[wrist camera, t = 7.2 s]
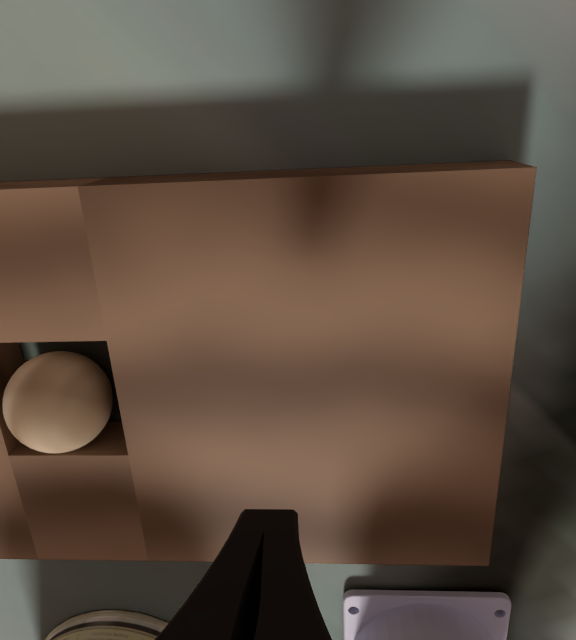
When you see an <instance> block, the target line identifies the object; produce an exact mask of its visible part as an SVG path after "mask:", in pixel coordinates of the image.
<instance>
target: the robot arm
mask: <svg viewBox="0 0 576 640" xmlns="http://www.w3.org/2000/svg"><path fill="white" fill-rule="evenodd" d="M353 607H354V608H353ZM497 610H498V611H497ZM510 612H511V601H510V599H509V597H508V595H507V594H505V593H502V592H465V591H410V590H355V589H353V590H348V591H346V592H345V593H344V595H343V633H344V640H506V639H507V632H508V625H509V619H510ZM155 640H332V639H331V637H330V634H329V632H328V630H327V627H326V625H325V623H324V620H323V618H322V615H321V612H320V610H319V607H318V604H317V602H316V599H315V596H314V593H313V590H312V587H311V584H310V581H309V578H308V574H307V571H306V567H305V564H304V560H303V556H302V551H301V546H300V541H299V526H298V513H297V512H296V511H295V510H293V509H245V510H244V511H242V512H241V514H240V516H239V518H238V520H237V522H236V524H235V526H234V528H233V530H232V532H231V533H230V535H229V537H228V539H227V540H226V542H225V544H224V546H223V547H222V549H221V551H220V552H219V554H218V555H217V557H216V558H215V560H214V562H213V563H212V565H211V566H210V568H209V569H208V571H207V572H206V574H205V575H204V577H203V578H202V580H201V581H200V583H199V584H198V585H197V587H196V588H195V589H194V591H193V592H192V594H191V595H190V596H189V598H188V599H187V601H186V602H185V603H184V605H183V606H182V607H181V608H180V610H179V611H178V612H177V613H176V615H175V616H174V617H173V618H172V620H171V621H170V622H169V623H168V624H167V626H166V627H165V628H164V629H163V630H162V631H161V633H160V634H159V635H158V636H157V637H156V638H155Z"/></svg>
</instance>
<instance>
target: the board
mask: <svg viewBox="0 0 576 640" xmlns="http://www.w3.org/2000/svg"><path fill="white" fill-rule="evenodd" d="M536 168H537V167H534V166H530V165H526V164H522V163H518V162H515V161H511V160H504V161H481V162H458V163H434V164H411V165H388V166H364V167H341V168H317V169H294V170H271V171H247V172H224V173H201V174H177V175H154V176H130V177H107V178H84V179H60V180H37V181H14V182H0V559H51V560H119V561H188V562H214V560H215V558H216V557H217V555H218V554H219V552H220V551H221V549H222V547H223V546H224V544H225V542H226V540H227V539H228V537H229V535H230V533H231V532H232V530H233V528H234V526H235V524H236V522H237V520H238V518H239V516H240V514H241V512H242V511H244V510H245V509H293V510H295V511H296V512H297V513H298V526H299V541H300V546H301V551H302V556H303V560H304V563H325V564H393V565H462V566H489V560H490V552H491V544H492V535H493V527H494V519H495V510H496V502H497V494H498V485H499V477H500V469H501V460H502V452H503V444H504V435H505V427H506V419H507V410H508V402H509V394H510V385H511V377H512V369H513V360H514V352H515V344H516V335H517V327H518V318H519V310H520V302H521V293H522V285H523V277H524V268H525V260H526V252H527V243H528V235H529V227H530V218H531V210H532V202H533V193H534V185H535V177H536ZM66 341H107V345H108V350H109V356H110V361H111V366H112V371H113V377H114V382H115V387H116V393H117V398H118V403H119V409H120V414H121V419H122V422H107V423H106V425H105V427H104V428H103V429H102V431H101V432H100V433H99V434H98V435H97V436H96V437H95V438H94V439H93V440H92V441H90V442H89V443H87V444H86V445H84V446H82V447H80V448H78V449H76V450H73V451H69V452H64V453H45V452H39V451H37V450H34V449H31V448H29V447H27V446H26V445H24V444H22V443H21V442H20V441H19V440H18V439H17V438H16V437H14V435H13V434H12V433H11V431H10V430H9V428H8V426H7V424H6V422H5V419H4V415H3V406H2V404H3V395H4V391H5V388H6V386H7V384H8V382H9V380H10V378H11V377H12V375H13V374H14V373H15V372H16V370H17V369H18V368H19V367H20V366H22V365H23V364H24V360H23V356H22V352H21V348H20V344H19V342H66Z"/></svg>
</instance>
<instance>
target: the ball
mask: <svg viewBox="0 0 576 640" xmlns="http://www.w3.org/2000/svg"><path fill="white" fill-rule="evenodd" d="M112 405H113V394H112V388H111V385H110V382H109V379H108V377H107V376H106V374H105V373H104V371H103V370H102V369H101V368H100V367H99V366H98V365H97V364H96V363H95V362H94V361H92V360H91V359H89V358H87V357H85V356H83V355H81V354H78V353H74V352H69V351H53V352H48V353H44V354H41V355H38V356H36V357H34V358H32V359H30V360H28V361H27V362H25V363H24V364H23V365H22V366H20V367H19V368H18V369H17V370H16V372H15V373H14V374H13V375H12V377H11V378H10V380H9V382H8V384H7V386H6V388H5V391H4V395H3V404H2V406H3V415H4V419H5V422H6V424H7V426H8V428H9V430H10V431H11V433H12V434H13V435H14V437H16V438H17V439H18V440H19V441H20V442H21V443H22V444H24V445H26V446H27V447H29V448H31V449H34V450H37V451H39V452H45V453H64V452H69V451H73V450H76V449H78V448H80V447H82V446H84V445H86V444H87V443H89V442H90V441H92V440H93V439H94V438H95V437H96V436H97V435H98V434H99V433H100V432H101V431H102V429H103V428H104V427H105V425H106V423H107V421H108V419H109V417H110V414H111V410H112Z"/></svg>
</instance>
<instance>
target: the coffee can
mask: <svg viewBox="0 0 576 640" xmlns="http://www.w3.org/2000/svg"><path fill="white" fill-rule="evenodd" d="M167 624H168V623H167V622H165V621H162V620H160V619H158V618H155V617H152V616H148V615H145V614H142V613H138V612H127V611H122V610H102V611H94V612H89V613H85V614H81V615H78V616H75V617H72V618H70V619H68V620H66V621H65V622H63V623H62V624H60V625H58V626H57V627H56V628H55V629H54V630H52V631H51V632H50V633H49V635H48V636H47V637H46V639H45V640H155V638H156V637H157V636H158V635H159V634H160V633H161V631H162V630H163V629H164V628H165V627H166V626H167Z"/></svg>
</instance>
